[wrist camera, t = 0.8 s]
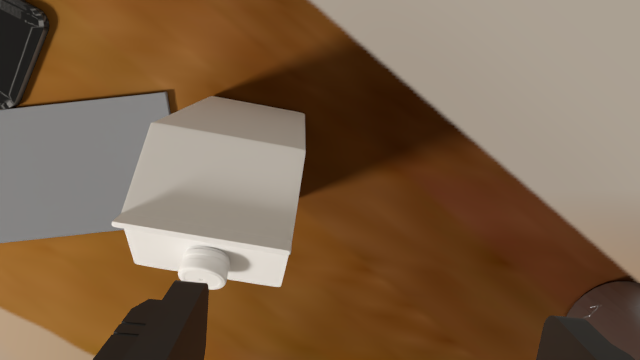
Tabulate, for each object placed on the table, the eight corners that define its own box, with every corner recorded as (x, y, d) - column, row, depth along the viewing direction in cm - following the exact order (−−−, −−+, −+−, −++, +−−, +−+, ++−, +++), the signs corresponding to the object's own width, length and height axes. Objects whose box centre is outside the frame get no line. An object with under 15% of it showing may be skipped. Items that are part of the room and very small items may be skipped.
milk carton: (210, 95, 37) (119, 135, 19) (305, 112, 38) (306, 168, 20) (197, 186, 39) (103, 305, 21) (288, 202, 40) (275, 332, 21)
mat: (166, 91, 37) (164, 92, 37) (189, 220, 40) (188, 222, 39) (-51, 115, 37) (-56, 116, 37) (-15, 242, 40) (-19, 245, 39)
